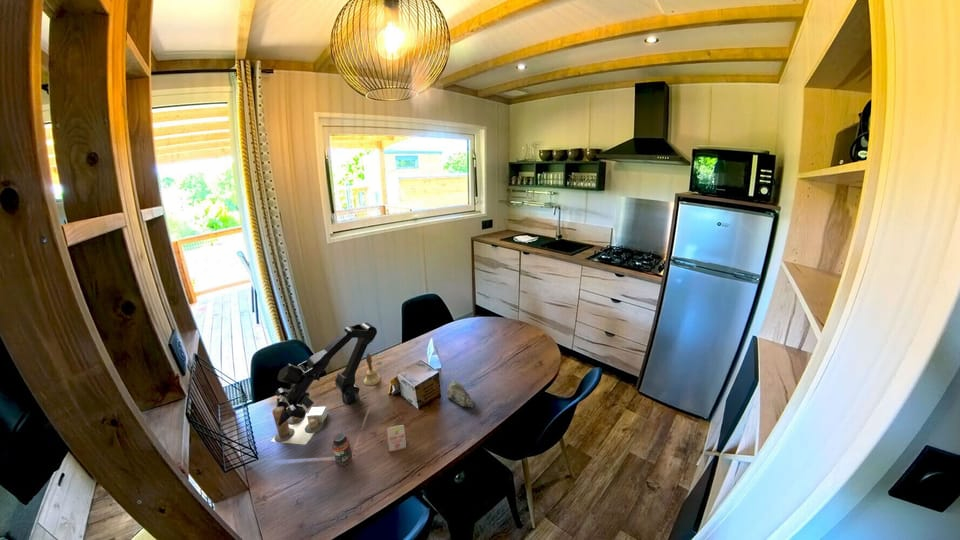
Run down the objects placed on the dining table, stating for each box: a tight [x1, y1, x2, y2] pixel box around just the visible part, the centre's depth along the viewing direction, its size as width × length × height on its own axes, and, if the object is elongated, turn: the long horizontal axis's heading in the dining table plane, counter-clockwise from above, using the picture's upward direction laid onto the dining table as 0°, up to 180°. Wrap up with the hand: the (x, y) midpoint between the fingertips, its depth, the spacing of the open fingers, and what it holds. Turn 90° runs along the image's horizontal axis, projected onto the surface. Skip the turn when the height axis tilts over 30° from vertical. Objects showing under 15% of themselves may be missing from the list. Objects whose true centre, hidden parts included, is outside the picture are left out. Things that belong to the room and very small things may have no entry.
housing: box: [307, 406, 328, 423], centre depth 143 cm, size 6×5×4 cm
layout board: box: [270, 412, 328, 446], centre depth 138 cm, size 18×16×4 cm
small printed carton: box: [385, 424, 407, 453], centre depth 129 cm, size 4×7×10 cm, turn 105°
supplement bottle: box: [331, 432, 353, 467], centre depth 123 cm, size 6×6×11 cm
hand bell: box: [363, 352, 381, 386], centre depth 167 cm, size 8×8×16 cm
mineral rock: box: [446, 380, 474, 408], centre depth 152 cm, size 13×11×10 cm
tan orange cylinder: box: [272, 406, 290, 437], centre depth 133 cm, size 4×4×12 cm
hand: (277, 422), depth 132 cm, fingers closed on tan orange cylinder, 4 cm apart
